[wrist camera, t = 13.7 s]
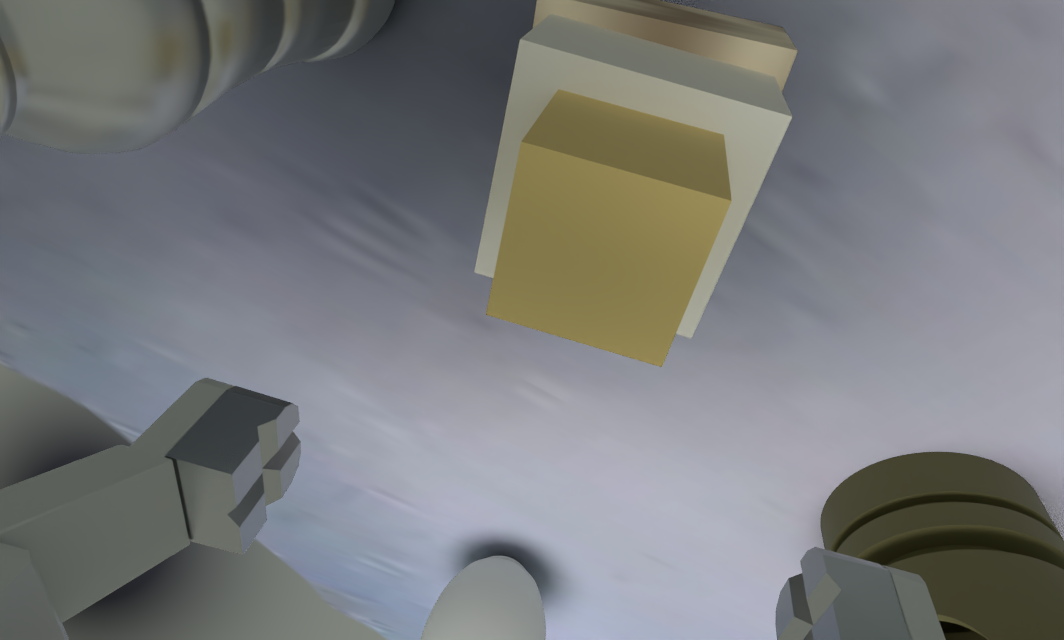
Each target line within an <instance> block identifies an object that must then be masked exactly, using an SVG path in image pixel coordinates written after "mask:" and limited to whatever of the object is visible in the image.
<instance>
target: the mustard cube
mask: <svg viewBox="0 0 1064 640" xmlns="http://www.w3.org/2000/svg"><path fill="white" fill-rule="evenodd" d="M731 201H732V199H731V190H730V182H729V174H728V165H727V157H726V148H725V140H724V135H723V134H719V133H716V132H712V131H709V130H705V129H701V128H698V127H694V126H690V125H687V124H683V123H680V122H676V121H672V120H669V119H665V118H661V117H658V116H654V115H651V114H647V113H643V112H640V111H636V110H633V109H629V108H625V107H622V106H618V105H614V104H611V103H607V102H604V101H600V100H596V99H593V98H589V97H585V96H582V95H578V94H575V93H571V92H567V91H564V90H560V89H558V90H557V92H556V93H555V95H554V96H553V98H552V99H551V100H550V102H549V103H548V105H547V106H546V107H545V109H544V110H543V112H542V113H541V114H540V116H539V117H538V119H537V120H536V121H535V123H534V124H533V126H532V127H531V128H530V130H529V131H528V133H527V134H526V135H525V137H524V138H523V140H522V141H521V145H520V150H519V155H518V159H517V164H516V169H515V174H514V179H513V184H512V189H511V194H510V199H509V204H508V209H507V213H506V218H505V223H504V228H503V233H502V238H501V243H500V248H499V253H498V258H497V262H496V267H495V272H494V277H493V282H492V287H491V292H490V297H489V302H488V307H487V311H486V315H489V316H492V317H495V318H499V319H502V320H505V321H509V322H512V323H516V324H519V325H522V326H526V327H529V328H532V329H536V330H539V331H542V332H546V333H549V334H552V335H556V336H559V337H562V338H566V339H569V340H573V341H576V342H579V343H583V344H586V345H589V346H593V347H596V348H599V349H603V350H606V351H609V352H613V353H616V354H619V355H623V356H626V357H630V358H633V359H636V360H640V361H643V362H646V363H650V364H653V365H656V366H660V367H662V365H663V363H664V361H665V358H666V356H667V354H668V351H669V349H670V346H671V344H672V342H673V339H674V337H675V335H676V332H677V330H678V327H679V325H680V323H681V320H682V318H683V316H684V313H685V311H686V308H687V306H688V304H689V301H690V299H691V297H692V294H693V292H694V289H695V287H696V285H697V282H698V280H699V277H700V275H701V273H702V270H703V268H704V266H705V263H706V261H707V258H708V256H709V254H710V251H711V249H712V247H713V244H714V242H715V239H716V237H717V235H718V232H719V230H720V228H721V225H722V223H723V220H724V218H725V216H726V213H727V211H728V209H729V206H730V204H731Z"/></svg>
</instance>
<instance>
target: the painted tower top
mask: <svg viewBox="0 0 1064 640" xmlns="http://www.w3.org/2000/svg"><path fill="white" fill-rule="evenodd" d="M558 89H560V90H564V91H567V92H571V93H575V94H578V95H582V96H585V97H589V98H593V99H596V100H600V101H604V102H607V103H611V104H614V105H618V106H622V107H625V108H629V109H633V110H636V111H640V112H643V113H647V114H651V115H654V116H658V117H661V118H665V119H669V120H672V121H676V122H680V123H683V124H687V125H690V126H694V127H698V128H701V129H705V130H709V131H712V132H716V133H719V134H723V135H724V140H725V148H726V157H727V165H728V174H729V182H730V190H731V199H732V201H731V204H730V206H729V209H728V211H727V213H726V216H725V218H724V220H723V223H722V225H721V228H720V230H719V232H718V235H717V237H716V239H715V242H714V244H713V247H712V249H711V251H710V254H709V256H708V258H707V261H706V263H705V266H704V268H703V270H702V273H701V275H700V277H699V280H698V282H697V285H696V287H695V289H694V292H693V294H692V297H691V299H690V301H689V304H688V306H687V308H686V311H685V313H684V316H683V318H682V320H681V323H680V325H679V327H678V330H677V332H676V334H678V335H681V336H685V337H688V338H692V336H693V334H694V332H695V330H696V327H697V325H698V323H699V321H700V319H701V316H702V314H703V312H704V310H705V308H706V305H707V303H708V301H709V299H710V297H711V294H712V292H713V290H714V288H715V286H716V283H717V281H718V279H719V277H720V275H721V272H722V270H723V268H724V266H725V264H726V261H727V259H728V257H729V255H730V253H731V251H732V248H733V246H734V244H735V242H736V240H737V237H738V235H739V233H740V231H741V229H742V226H743V224H744V222H745V220H746V218H747V215H748V213H749V211H750V209H751V207H752V204H753V202H754V200H755V198H756V196H757V193H758V191H759V189H760V187H761V185H762V182H763V180H764V178H765V176H766V174H767V172H768V169H769V167H770V165H771V163H772V161H773V158H774V156H775V154H776V152H777V150H778V147H779V145H780V143H781V141H782V139H783V136H784V134H785V132H786V130H787V128H788V125H789V123H790V121H791V119H792V115H791V112H790V110H789V108H788V106H787V103H786V101H785V99H784V97H783V94H782V92H781V90H780V87H779V85H778V83H777V81H776V78H775V76H772V75H768V74H764V73H761V72H757V71H754V70H750V69H747V68H743V67H740V66H736V65H733V64H729V63H725V62H722V61H718V60H715V59H711V58H708V57H704V56H701V55H697V54H694V53H690V52H686V51H683V50H679V49H676V48H672V47H669V46H665V45H662V44H658V43H655V42H651V41H648V40H644V39H640V38H637V37H633V36H630V35H626V34H623V33H619V32H616V31H612V30H609V29H605V28H601V27H598V26H594V25H591V24H587V23H584V22H580V21H577V20H573V19H570V18H566V17H562V16H559V15H555V14H550V15H549V16H548V17H547V18H545V19H544V20H543V21H542V22H541V23H539V24H538V25H537V26H536V27H534V28H533V29H532V30H531V31H529V32H528V33H527V34H526V35H525V36H523V37H522V38H521V39H520V42H519V47H518V52H517V57H516V62H515V67H514V73H513V78H512V83H511V88H510V93H509V98H508V103H507V108H506V113H505V119H504V124H503V129H502V134H501V139H500V144H499V149H498V154H497V159H496V164H495V170H494V175H493V180H492V185H491V190H490V195H489V200H488V205H487V210H486V216H485V221H484V226H483V231H482V236H481V241H480V246H479V251H478V256H477V261H476V267H475V272H474V273H478V274H481V275H484V276H488V277H491V278H493V277H494V272H495V267H496V262H497V258H498V253H499V248H500V243H501V238H502V233H503V228H504V223H505V218H506V213H507V209H508V204H509V199H510V194H511V189H512V184H513V179H514V174H515V169H516V164H517V159H518V155H519V150H520V145H521V141H522V140H523V138H524V137H525V135H526V134H527V133H528V131H529V130H530V128H531V127H532V126H533V124H534V123H535V121H536V120H537V119H538V117H539V116H540V114H541V113H542V112H543V110H544V109H545V107H546V106H547V105H548V103H549V102H550V100H551V99H552V98H553V96H554V95H555V93H556V92H557V90H558Z"/></svg>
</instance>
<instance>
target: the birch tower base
mask: <svg viewBox="0 0 1064 640" xmlns="http://www.w3.org/2000/svg"><path fill="white" fill-rule="evenodd" d="M550 14H555V15H559V16H562V17H566V18H570V19H573V20H577V21H580V22H584V23H587V24H591V25H594V26H598V27H601V28H605V29H609V30H612V31H616V32H619V33H623V34H626V35H630V36H633V37H637V38H640V39H644V40H648V41H651V42H655V43H658V44H662V45H665V46H669V47H672V48H676V49H679V50H683V51H686V52H690V53H694V54H697V55H701V56H704V57H708V58H711V59H715V60H718V61H722V62H725V63H729V64H733V65H736V66H740V67H743V68H747V69H750V70H754V71H757V72H761V73H764V74H768V75H772V76H775V78H776V81H777V83H778V85H779V87H780V90H781V92H782V91H783V88H784V85H785V83H786V80H787V78H788V75H789V72H790V70H791V67H792V65H793V62H794V59H795V57H796V54H797V52H798V50H797V49H796V47H795V46H794V44H793V43H792V41H791V40H790V38H789V37H788V35H787V34H786V32H785V31H784V29H783V28H782V27H779V26H774V25H770V24H765V23H760V22H756V21H751V20H747V19H742V18H738V17H733V16H729V15H724V14H720V13H715V12H711V11H706V10H702V9H697V8H692V7H688V6H683V5H679V4H674V3H670V2H665V1H661V0H537V3H536V10H535V16H534V22H533V28H534V27H536V26H537V25H538V24H539V23H541V22H542V21H543V20H544V19H545V18H547V17H548V16H549V15H550Z"/></svg>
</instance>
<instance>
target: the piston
mask: <svg viewBox="0 0 1064 640" xmlns="http://www.w3.org/2000/svg"><path fill="white" fill-rule="evenodd" d="M821 532H822V537H823V542H824V547H825V550H829V551H833V552H836V553H840V554H844V555H848V556H852V557H855V558H859V559H863V560H867V561H870V562H874V563H878V564H880V565H884V566H888V567H892V568H895V569H899V570H903V571H906V572H910V573H914V574H917V575H919V576H920V577H921V578H922V579H923V580H924V582H925V583H926V586H927V588H928V591H929V594H930V597H931V600H932V603H933V605H934V608H935V611H936V614H937V617H938V619H939V622H940V625H941V628H942V631H943V634H944V636H945V639H946V640H1064V541H1063V539H1062V537H1061V535H1060V534H1059V532H1058V530H1057V528H1056V527H1055V525H1054V523H1053V521H1052V520H1051V518H1050V516H1049V514H1048V513H1047V511H1046V509H1045V507H1044V506H1043V504H1042V502H1041V500H1040V499H1039V497H1038V495H1037V493H1036V492H1035V490H1034V489H1033V488H1032V486H1031V485H1030V484H1029V483H1028V482H1027V481H1026V480H1025V479H1024V478H1023V477H1021V476H1020V475H1019V474H1017V473H1016V472H1014V471H1013V470H1011V469H1009V468H1007V467H1006V466H1003V465H1001V464H999V463H997V462H994V461H991V460H988V459H985V458H982V457H978V456H973V455H968V454H962V453H952V452H923V453H914V454H907V455H902V456H897V457H893V458H889V459H886V460H883V461H880V462H877V463H875V464H872V465H870V466H868V467H865V468H863V469H862V470H860V471H858V472H856V473H854V474H853V475H851V476H850V477H848V478H847V479H846V480H845V481H843V482H842V483H841V484H840V485H839V486H838V487H837V488H836V489H835V490H834V491H833V492H832V494H831V495H830V496H829V498H828V499H827V501H826V503H825V505H824V508H823V511H822V514H821Z"/></svg>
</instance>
